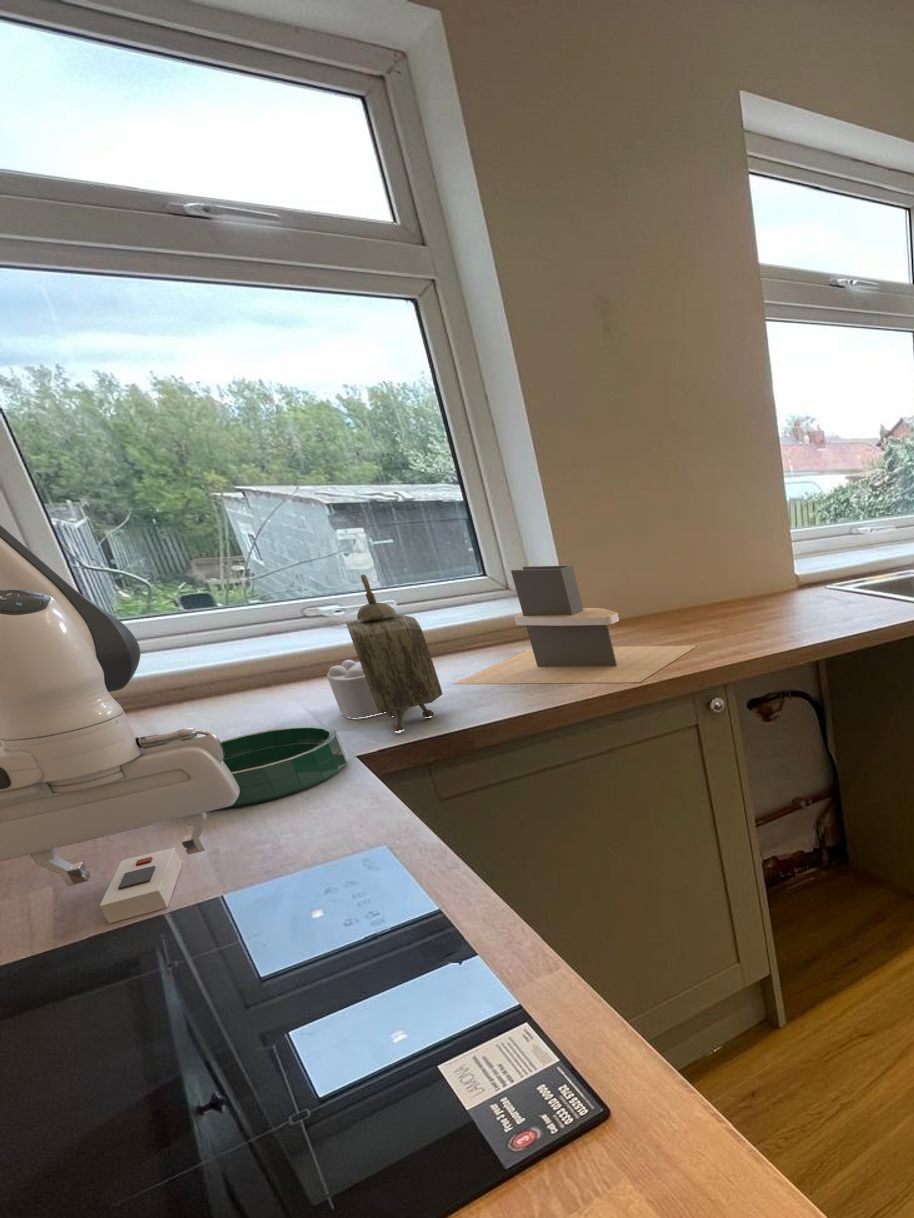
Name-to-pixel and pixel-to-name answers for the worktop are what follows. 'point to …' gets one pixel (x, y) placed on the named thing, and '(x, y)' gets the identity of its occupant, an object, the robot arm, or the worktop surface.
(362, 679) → the lumpy-topped squat cylinder
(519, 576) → the architectural model
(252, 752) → the bowl
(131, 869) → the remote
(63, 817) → the robot arm
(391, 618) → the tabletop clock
